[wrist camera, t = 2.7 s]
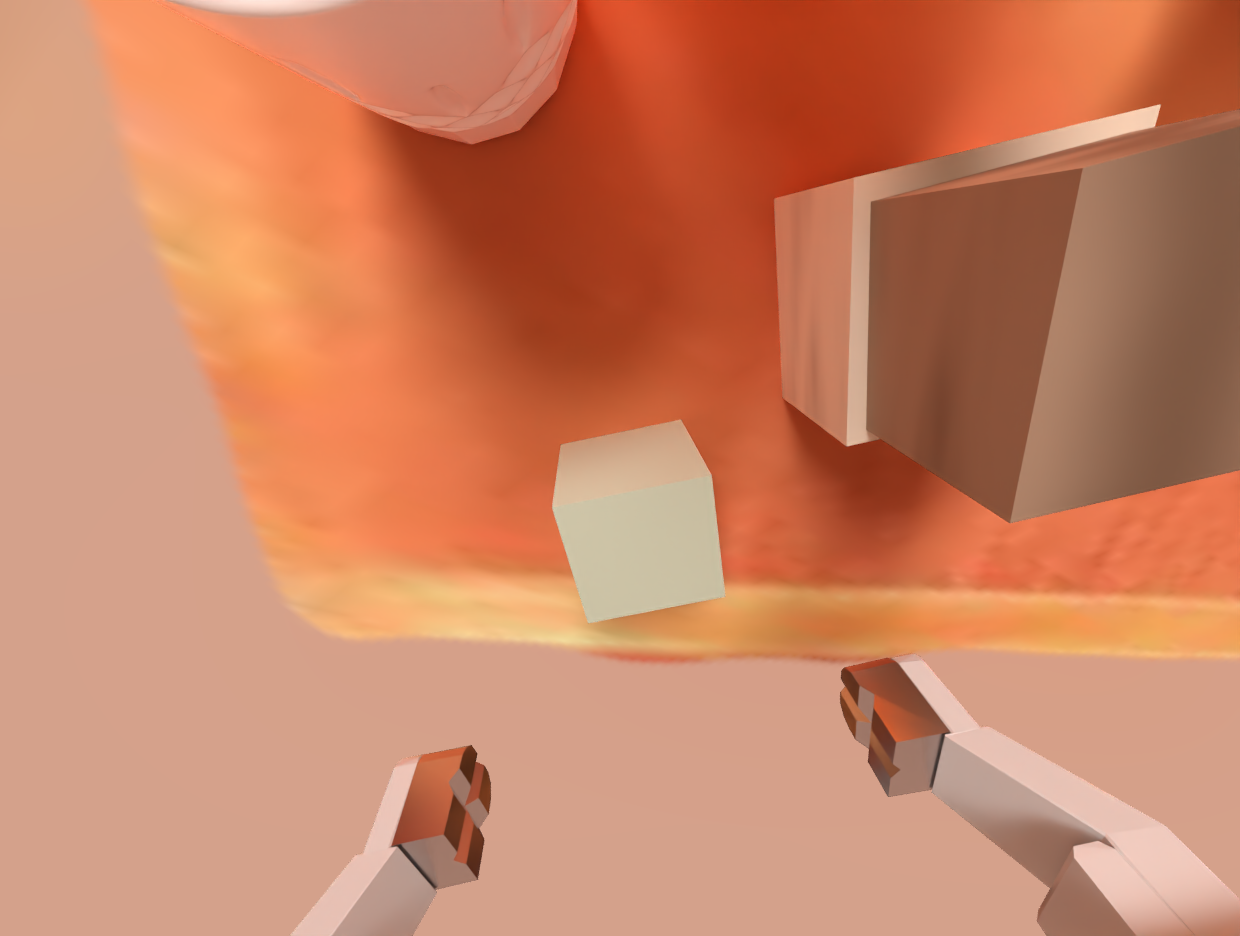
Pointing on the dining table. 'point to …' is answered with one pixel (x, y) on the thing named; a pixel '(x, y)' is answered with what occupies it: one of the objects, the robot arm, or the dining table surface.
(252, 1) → the white cup
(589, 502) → the green cube
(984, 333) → the walnut block
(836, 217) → the birch block
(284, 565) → the dining table surface
